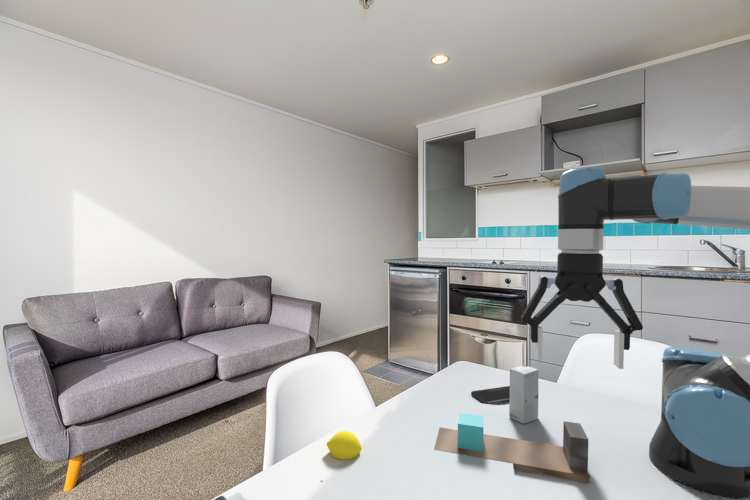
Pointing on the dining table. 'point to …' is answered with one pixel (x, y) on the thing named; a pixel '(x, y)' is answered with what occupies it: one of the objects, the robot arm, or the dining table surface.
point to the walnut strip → (530, 452)
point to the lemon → (344, 445)
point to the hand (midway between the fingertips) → (577, 362)
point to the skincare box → (523, 394)
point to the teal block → (470, 432)
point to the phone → (493, 395)
